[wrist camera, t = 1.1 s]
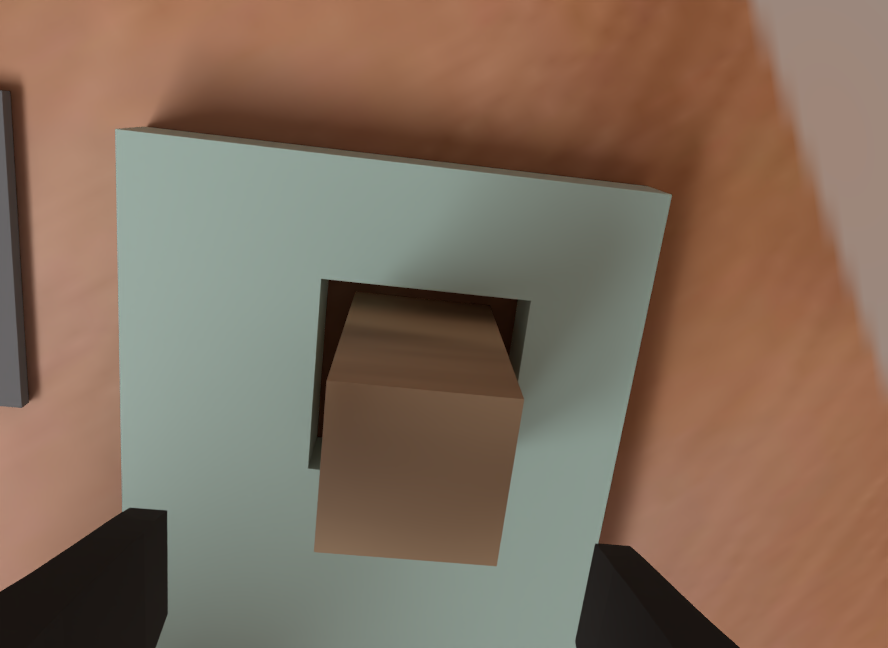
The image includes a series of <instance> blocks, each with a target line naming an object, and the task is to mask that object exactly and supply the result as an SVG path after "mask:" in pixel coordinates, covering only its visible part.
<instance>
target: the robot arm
mask: <svg viewBox="0 0 888 648" xmlns="http://www.w3.org/2000/svg"><path fill="white" fill-rule="evenodd" d="M167 615H168V544H167V510H155V509H142V508H128V509H127V510H125V511H123V512H122V513H120V514H118V515H117V516H115V517H114V518H112V519H111V520H109V521H108V522H106V523H105V524H103V525H102V526H100V527H99V528H98V529H96V530H95V531H93V532H92V533H90V534H89V535H87V536H86V537H84V538H83V539H81V540H80V541H78V542H77V543H76V544H74V545H73V546H71V547H70V548H68V549H67V550H65V551H64V552H62V553H60V554H59V555H57V556H56V557H54V558H53V559H51V560H50V561H48V562H47V563H45V564H44V565H42V566H41V567H39V568H38V569H36V570H35V571H33V572H32V573H30V574H29V575H27V576H25V577H24V578H22V579H21V580H19V581H17V582H16V583H14V584H12V585H11V586H9V587H7V588H6V589H4V590H2V591H1V592H0V648H156V646H157V643H158V640H159V637H160V634H161V632H162V629H163V626H164V623H165V620H166V618H167ZM575 644H576V648H740V647H738V646H737V645H736V644H735V643H734V642H733V641H732V640H730V639H729V638H728V637H727V636H726V635H725V634H724V633H723V632H721V631H720V630H719V629H718V628H717V627H716V626H715V625H714V624H713V623H711V622H710V621H709V620H708V619H707V618H706V617H705V616H704V615H703V614H702V613H701V612H699V611H698V610H697V609H696V608H695V607H694V606H693V605H692V604H691V603H690V602H689V601H688V600H687V599H686V598H685V597H684V596H683V595H681V594H680V593H679V592H678V591H677V590H676V589H675V588H674V587H673V586H672V585H671V584H670V583H669V582H668V581H667V580H666V579H665V578H664V577H663V576H662V575H661V574H660V573H659V572H658V571H657V570H655V569H654V568H653V567H652V566H651V565H650V564H649V563H648V562H647V561H646V560H645V559H644V558H643V557H642V556H641V555H640V554H638V553H637V552H636V551H635V550H634V549H633V548H632V547H630V546H622V545H609V544H596V543H595V546H594V551H593V556H592V561H591V566H590V571H589V576H588V581H587V585H586V590H585V595H584V600H583V605H582V610H581V615H580V619H579V624H578V629H577V634H576V639H575Z"/></svg>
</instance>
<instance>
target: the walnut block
mask: <svg viewBox="0 0 888 648" xmlns="http://www.w3.org/2000/svg"><path fill="white" fill-rule="evenodd" d="M523 404H524V397H523V395H522V392H521V389H520V386H519V384H518V381H517V378H516V376H515V373H514V370H513V367H512V365H511V362H510V359H509V357H508V354H507V351H506V348H505V346H504V343H503V340H502V338H501V335H500V332H499V329H498V327H497V324H496V321H495V318H494V316H493V313H492V310H491V308H490V305H480V304H471V303H461V302H451V301H442V300H432V299H423V298H413V297H403V296H394V295H384V294H375V293H365V292H356V291H355V294H354V298H353V301H352V304H351V307H350V310H349V313H348V316H347V319H346V322H345V325H344V328H343V332H342V335H341V338H340V341H339V344H338V347H337V350H336V353H335V356H334V359H333V362H332V365H331V369H330V372H329V375H328V378H327V382H326V395H325V409H324V422H323V436H322V449H321V462H320V476H319V489H318V502H317V516H316V529H315V542H314V552H318V553H331V554H344V555H356V556H369V557H382V558H395V559H408V560H421V561H433V562H446V563H459V564H472V565H485V566H497V562H498V556H499V550H500V543H501V537H502V531H503V525H504V519H505V513H506V507H507V501H508V495H509V489H510V483H511V477H512V471H513V465H514V459H515V453H516V446H517V440H518V434H519V428H520V422H521V416H522V410H523Z"/></svg>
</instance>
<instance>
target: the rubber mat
mask: <svg viewBox="0 0 888 648" xmlns="http://www.w3.org/2000/svg"><path fill="white" fill-rule="evenodd" d="M27 403H29V398H28V381H27V364H26V348H25V331H24V314H23V297H22V280H21V263H20V247H19V230H18V213H17V196H16V179H15V163H14V146H13V129H12V112H11V95H10V91H5V90H0V406H6V407H18V408H22V407H23V406H25V405H26V404H27Z"/></svg>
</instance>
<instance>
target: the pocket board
mask: <svg viewBox="0 0 888 648" xmlns="http://www.w3.org/2000/svg"><path fill="white" fill-rule="evenodd" d="M115 140H116V195H117V251H118V306H119V361H120V417H121V472H122V512H123V511H125V510H127V509H128V508H142V509H155V510H167V544H168V615H167V618H166V620H165V623H164V626H163V629H162V632H161V634H160V637H159V640H158V643H157V646H156V648H576V644H575V639H576V634H577V629H578V624H579V619H580V615H581V610H582V605H583V600H584V595H585V590H586V585H587V581H588V576H589V571H590V566H591V561H592V556H593V551H594V546H595V543H596V544H598V542H599V537H600V533H601V528H602V523H603V518H604V514H605V509H606V504H607V500H608V495H609V490H610V485H611V481H612V476H613V471H614V467H615V462H616V457H617V452H618V448H619V443H620V438H621V433H622V429H623V424H624V419H625V415H626V410H627V405H628V400H629V396H630V391H631V386H632V382H633V377H634V372H635V367H636V363H637V358H638V353H639V348H640V344H641V339H642V334H643V330H644V325H645V320H646V315H647V311H648V306H649V301H650V296H651V292H652V287H653V282H654V278H655V273H656V268H657V263H658V259H659V254H660V249H661V245H662V240H663V235H664V230H665V226H666V221H667V216H668V211H669V207H670V202H671V197H672V194H669V193H666V192H663V191H660V190H657V189H654V188H651V187H649V186H642V185H634V184H625V183H617V182H608V181H600V180H591V179H583V178H575V177H566V176H558V175H549V174H541V173H532V172H524V171H516V170H507V169H499V168H490V167H482V166H473V165H465V164H456V163H448V162H440V161H431V160H423V159H414V158H406V157H397V156H389V155H380V154H372V153H364V152H355V151H347V150H338V149H330V148H321V147H313V146H305V145H296V144H288V143H279V142H271V141H262V140H254V139H245V138H237V137H229V136H220V135H212V134H203V133H195V132H186V131H178V130H170V129H161V128H153V127H135V128H122V129H115ZM329 280H338V281H347V282H357V283H366V284H376V285H385V286H395V287H404V288H414V289H423V290H433V291H442V292H452V293H461V294H471V295H480V296H490V297H499V298H509V299H518V301H517V308H516V314H515V321H514V327H513V334H512V340H511V347H510V353H509V359H510V362H511V365H512V367H513V370H514V373H515V376H516V378H517V381H518V384H519V386H520V389H521V392H522V395H523V397H524V404H523V410H522V416H521V422H520V428H519V434H518V440H517V446H516V453H515V459H514V465H513V471H512V477H511V483H510V489H509V495H508V501H507V507H506V513H505V519H504V525H503V531H502V537H501V543H500V550H499V556H498V562H497V566H485V565H472V564H459V563H446V562H433V561H421V560H408V559H395V558H382V557H369V556H356V555H344V554H331V553H318V552H314V542H315V529H316V516H317V502H318V489H319V476H320V462H321V449H322V437H317V434H318V420H319V406H320V392H321V378H322V365H323V351H324V337H325V323H326V309H327V295H328V282H329Z"/></svg>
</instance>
